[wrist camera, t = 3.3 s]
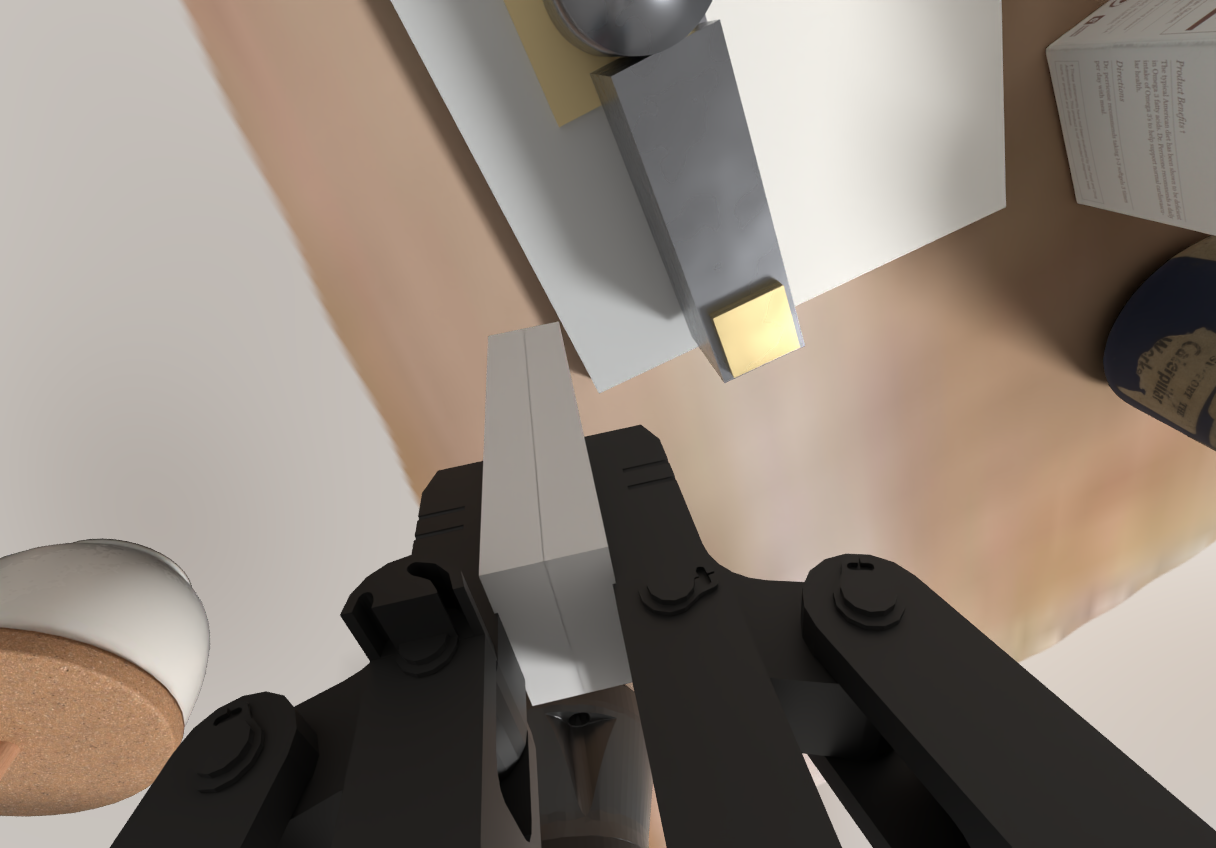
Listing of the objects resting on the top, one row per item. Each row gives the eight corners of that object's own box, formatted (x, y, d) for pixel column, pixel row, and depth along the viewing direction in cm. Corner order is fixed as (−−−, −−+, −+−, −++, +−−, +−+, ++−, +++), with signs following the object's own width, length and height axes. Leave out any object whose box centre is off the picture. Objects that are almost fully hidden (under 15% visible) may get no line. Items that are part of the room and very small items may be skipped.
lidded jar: (-77, 510, 24) (-354, 726, 16) (202, 488, 26) (73, 675, 18) (49, 669, 30) (-111, 886, 22) (271, 642, 31) (197, 836, 24)
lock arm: (512, -74, 16) (518, -116, 12) (644, -148, 15) (693, -216, 12) (679, 341, 23) (715, 396, 20) (770, 298, 23) (825, 345, 19)
